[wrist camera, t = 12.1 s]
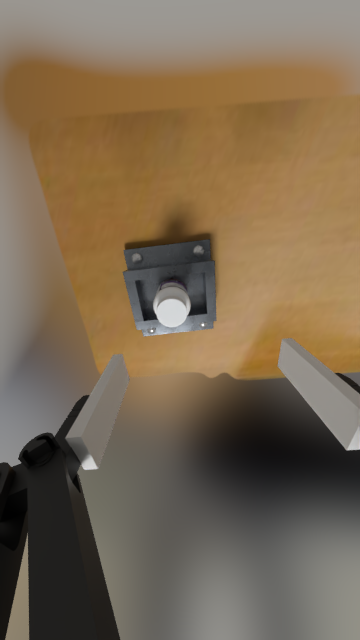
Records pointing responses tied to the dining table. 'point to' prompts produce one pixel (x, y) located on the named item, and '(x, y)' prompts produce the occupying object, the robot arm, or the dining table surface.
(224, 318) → the dining table surface
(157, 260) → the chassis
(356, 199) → the dining table surface
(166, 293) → the pill bottle
